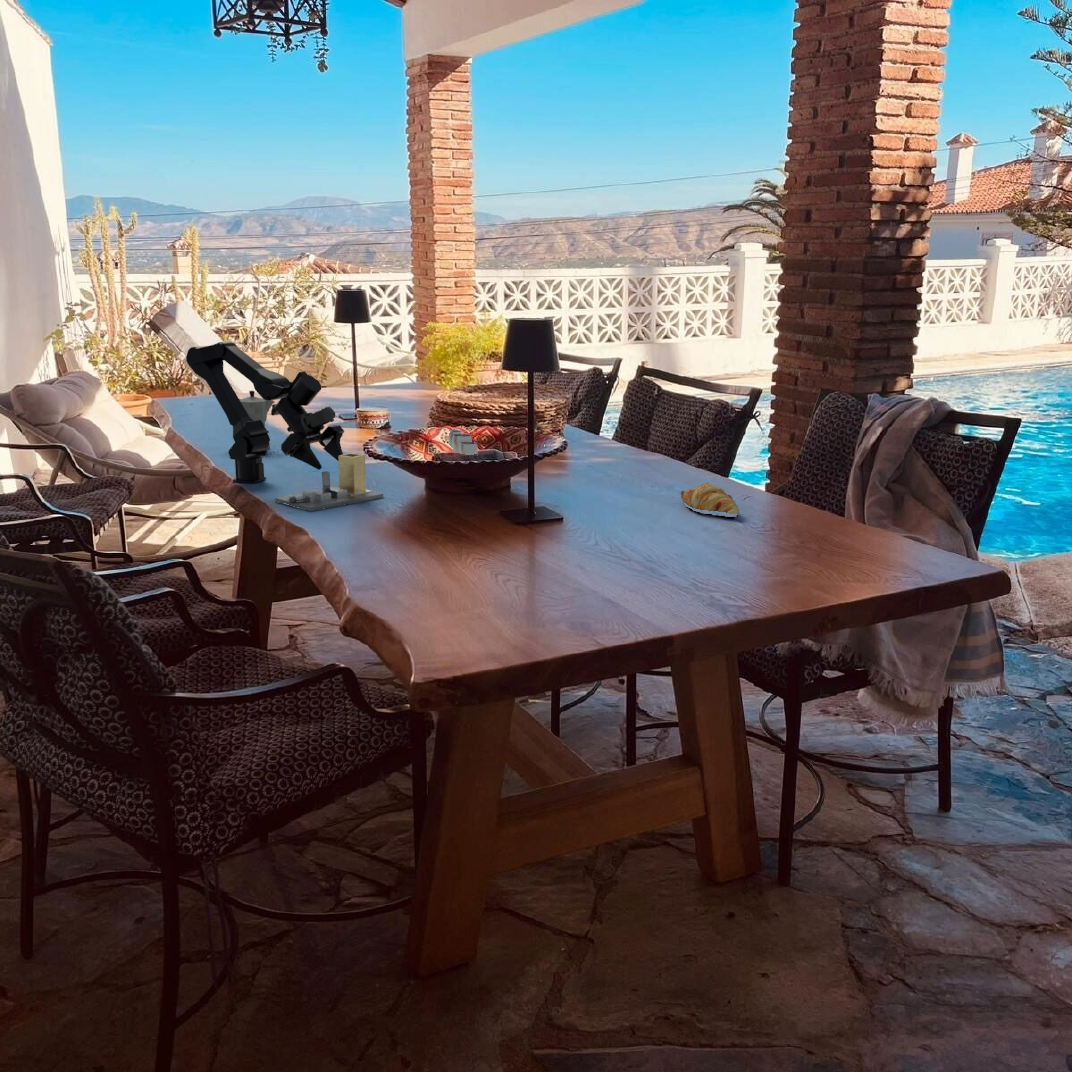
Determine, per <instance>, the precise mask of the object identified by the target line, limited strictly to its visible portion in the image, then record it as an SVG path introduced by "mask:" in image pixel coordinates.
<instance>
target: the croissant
mask: <svg viewBox="0 0 1072 1072" xmlns="http://www.w3.org/2000/svg"><path fill="white" fill-rule="evenodd" d="M680 498H681V499H682V503H683V502H684V503H686V504H687V505H688V506H690V507H692V508H695V509H700V510H708V511H718V512H726V513H729V514H739V515H740V509H739V507H738V504H737V503H736V501H735V499H734V498H733V497H732V495H730V494H726V492H725V491H724V489H723V488H722V487H719V486H716V485H714V484H711V483H709V482H708V483H707V482H706V483H703V484H701V485H699V486H697V487H694V488H693V489H687V490H681V491H680ZM684 503H683V504H684Z"/></svg>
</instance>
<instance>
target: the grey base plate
mask: <svg viewBox="0 0 1072 1072" xmlns="http://www.w3.org/2000/svg"><path fill="white" fill-rule="evenodd" d="M321 478H322V479H321V481H322V482H321V483H322V487H321V489H317V488H314V489H305V490H302V492H301V493H296V494H291V495H285V496H280V497H279V496H278V497H275V498H274V502H275V503H277V502H279V503H278V504H280V503H286V504H289V505H292V506H295V507H299V508H302V509H305V510H304V511H306V510H309V511H308V512H310V511H311V512H315V511H314V510H316V511H320V510H319V509H321V510H324V509H323V508H327V509H330V508H329V507H332V508H335V507H334V506H337V507H340V506H339V505H342V506H345V505H344V504H348V505H351V504H350V503H353V504H358V503H362V502H369V501H372V500H374V501H375V500H378V499H383V498H384V493H383V492H378V491H374V490H369V489H366V491H362V492H359V493H355V494H353V493H347V490H345V489H341V488H339V486H337V487H336V486H333V485H332V486H331V473H330V471H322V472H321ZM295 507H294V508H295ZM299 508H298V509H299ZM302 509H301V510H302Z"/></svg>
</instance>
